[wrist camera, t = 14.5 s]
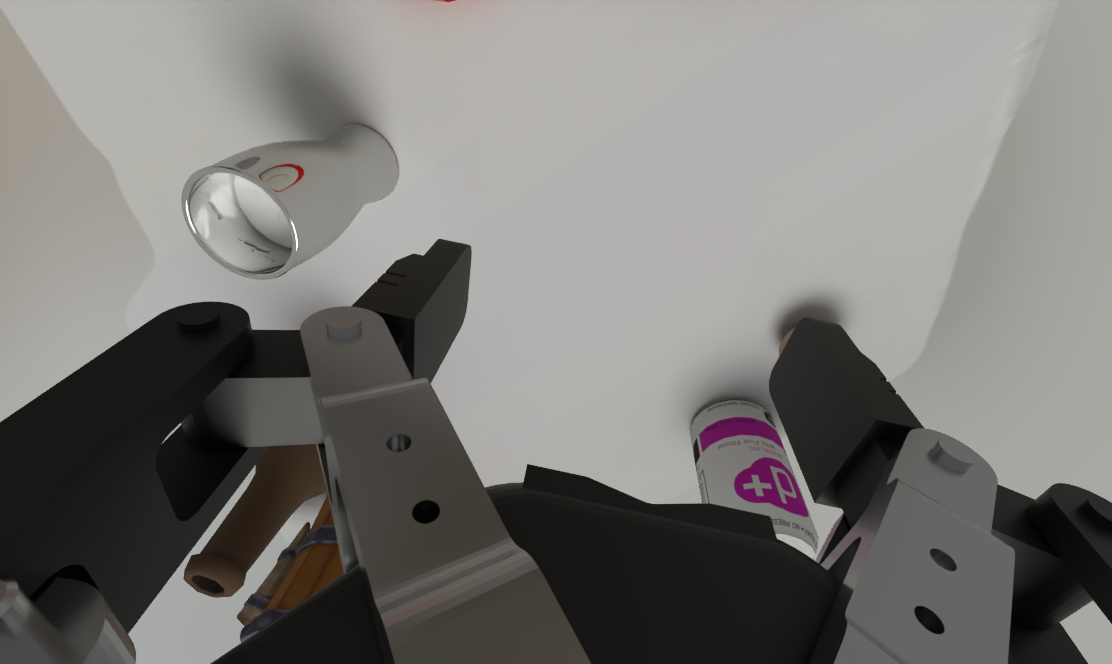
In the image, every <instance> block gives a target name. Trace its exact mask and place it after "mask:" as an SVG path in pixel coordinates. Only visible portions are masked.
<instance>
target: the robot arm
mask: <svg viewBox="0 0 1112 664" xmlns="http://www.w3.org/2000/svg"><path fill="white" fill-rule="evenodd" d="M470 267H471V246H470V245H467V244H462V243H457V242H453V241H448V240H443V239H438V240H437V241H436V242H435V243H434V245H433V246H432V247H431V248H430V249H429V250H428V251H427V253H426V254H425V255H424V256H422V255H417V254H412V255H409V256H407V257H404V258H402V259H399V260H397V261H395V262H394V264H393V265H392V266H391V267H390V268H389V269H388V270H387V271H386V274H385V273H384V274H383V275H382V276H381V277H380V278H379V279H378V281H377V282H375V283H374V284H373V285H372V286H371V287H370V288H369V289H368V290H367V291H366V292H365V293H364V294H363V295H362V296H361V297H360V298H359V299H358V300H357V301H356V302H355V303H354V304H353V305H352V306H351V307H335V308H329V309H325V310H322V311H319V312H317V313H315V314H313V315H311V316H310V317H308V318H307V319H306V320H305V321H304V322H303V323H302V325H301V328H300V330H252V328H251V323H250V318H249V315H248V313H247V312H246V311H245V310H244V309H242V308H241V307H239V306H236V305H233V304H229V303H223V302H198V303H191V304H186V305H182V306H178V307H175V308H172V309H170V310H167V311H165V312H163V313H161V314H160V315H158V316H156V317H155V318H153V319H152V320H150V321H149V322H147V323H146V324H144V325H143V326H141V327H140V328H139V329H137V330H136V331H134V332H133V333H131V334H130V335H128V336H127V337H125V338H124V339H122V340H121V341H119V342H118V343H116V344H115V345H114V346H112V347H111V348H109V349H108V350H106V351H105V352H103V353H102V354H100V355H99V356H97V357H96V358H94V359H93V360H91V361H90V362H88V363H87V364H85V365H84V366H83V367H81V368H80V369H78V370H77V371H75V372H74V373H72V374H71V375H69V376H68V377H66V378H65V379H63V380H62V381H61V382H59V383H57V384H56V385H55V386H53V387H52V388H50V389H49V390H47V391H46V392H44V393H43V394H41V395H40V396H38V397H37V398H36V399H34V400H33V401H31V402H29V403H28V404H27V405H25V406H24V407H22V408H21V409H19V410H18V411H16V412H15V413H13V414H12V415H10V416H9V417H8V418H6V419H4V420H3V421H1V422H0V664H136V651H135V647H134V644H133V642H132V640H131V639H130V637H129V635H128V633H129V632H130V630H131V629H132V628H133V627H134V625H135V624H136V623H137V621H138V620H139V619H140V617H141V616H142V615H143V613H144V612H145V610H146V609H147V608H148V606H149V605H150V604H151V603H152V601H153V600H154V599H155V597H156V596H157V595H158V593H159V592H160V591H161V589H162V588H163V587H164V585H165V584H166V583H167V581H168V580H169V579H170V577H171V576H172V575H173V573H174V572H175V571H176V569H177V568H178V567H179V566H180V564H181V563H182V561H183V560H184V559H185V557H186V556H187V555H188V553H189V552H190V551H191V550H192V548H193V547H194V546H195V544H196V543H197V542H198V540H199V539H200V538H201V536H202V535H203V533H204V532H205V531H206V529H207V528H208V527H209V526H210V524H211V523H212V521H213V520H214V519H215V518H216V516H217V515H218V514H219V512H220V511H221V510H222V508H223V507H224V506H225V504H226V503H227V502H228V500H229V499H230V498H231V496H232V495H233V494H234V492H235V491H236V490H237V489H238V487H239V486H240V485H241V483H242V482H243V481H244V479H245V478H246V477H247V475H248V474H249V473H250V471H251V470H252V469H253V467H254V466H255V465H256V463H257V462H258V461H259V459H260V458H261V457H262V455H263V454H264V453H265V451H266V450H267V449H268V447H269V446H284V445H305V444H316V446H317V450H318V455H319V459H320V464H321V468H322V472H323V477H324V481H325V485H326V490H327V494H328V498H329V503H330V507H331V511H332V516H333V520H334V525H335V530H336V536H337V542H338V547H339V553H340V558H341V563H342V568H343V572H344V574H343V575H342V576H340V577H339V578H338V579H336V580H335V581H333V582H332V583H330V584H329V585H327V586H326V587H324V588H323V589H321V590H320V591H318V592H317V593H315V594H314V595H312V596H311V597H309V598H308V599H306V600H305V601H303V602H302V603H300V604H299V605H297V606H296V607H294V608H293V609H291V610H290V611H288V612H287V613H285V614H284V615H282V616H281V617H279V618H278V619H276V620H275V621H273V622H272V623H271V624H269V625H268V626H266V627H265V628H263V629H262V630H260V631H259V632H257V633H256V634H254V635H253V636H251V637H250V638H248V639H247V640H245V641H244V642H242V643H241V644H239V645H238V646H236V647H235V648H233V649H232V650H231V651H229V652H227V653H226V654H224V655H223V656H221V657H220V658H219V659H217V660H215V661H214V662H212V663H211V664H1088V663H1087V661H1086V660H1085V659H1084V657H1083V656H1082V654H1081V653H1080V651H1079V650H1078V648H1077V647H1076V646H1075V644H1074V643H1073V641H1072V640H1071V638H1070V637H1069V635H1068V634H1067V632H1066V631H1065V630H1064V628H1063V627H1062V625H1061V624H1060V621H1062V620H1064V619H1065V618H1067V617H1068V616H1070V615H1071V614H1073V613H1074V612H1076V611H1077V610H1079V609H1080V608H1082V607H1083V606H1085V605H1087V604H1088V603H1090V602H1091V601H1093V600H1094V602H1095V603H1096V604H1097V606H1098V607H1099V608H1100V609H1101V611H1102V612H1103V613H1104V614H1105V616H1106V617H1107V618H1108V620H1109V621H1110V622H1111V624H1112V503H1111V502H1109V501H1107V500H1106V499H1104V498H1102V497H1100V496H1098V495H1096V494H1094V493H1092V492H1090V491H1087V490H1085V489H1082V488H1080V487H1076V486H1073V485H1069V484H1062V483H1058V484H1054V485H1052V486H1051V487H1050V488H1049V489H1048V490H1046V491H1045V492H1044V493H1043V494H1042V495H1041V496H1039V497H1038V498H1037V499H1036V500H1035V499H1032V498H1029V497H1027V496H1025V495H1022V494H1020V493H1017V492H1014V491H1013V490H1010V489H1008V488H1005V487H1003V486H1000V485H998V484H997V483H998V482H997V476H996V474H995V472H994V471H993V469H992V468H991V467H990V465H989V464H988V463H987V462H986V461H985V460H984V459H983V458H982V457H981V456H980V455H978V454H977V453H976V452H974V451H973V450H972V449H971V448H969V447H968V446H966V445H964V444H963V443H961V442H959V441H958V440H956V439H954V438H952V437H950V436H948V435H945V434H943V433H940V432H937V431H934V430H930V429H924V427H923V426H922V425H921V423H920V422H919V421H918V419H917V418H916V417H915V416H914V414H913V413H912V412H911V410H910V409H909V408H908V406H907V405H906V404H905V402H904V401H903V400H902V399H901V397H900V396H899V395H898V394H896V391H895V389H894V388H893V387H892V385H891V384H890V383H889V382H887V381H886V377H885V376H884V375H883V373H882V372H881V371H880V369H879V368H878V367H877V366H876V364H875V363H874V362H872V361H871V360H870V359H869V358H867V357H866V356H865V355H864V354H862V353H861V352H860V351H859V350H858V348H857V347H856V346H855V344H854V343H853V341H852V340H851V339H850V337H849V336H848V335H847V333H846V332H845V331H844V329H843V328H842V327H841V326H840V325H838V324H834V323H829V322H825V321H820V320H815V319H811V318H804V319H802V320H801V321H800V322H799V323H798V324H797V325H796V327H795V329H794V331H793V332H792V334H791V336H790V338H789V340H788V342H787V344H786V345H785V347H784V349H783V351H782V353H781V355H780V357H779V358H778V360H777V362H776V364H775V366H774V368H773V370H772V372H771V376H770V380H769V391H770V395H771V397H772V400H773V402H774V405H775V407H776V410H777V412H778V415H779V417H780V420H781V422H782V424H783V427H784V429H785V432H786V434H787V437H788V439H789V442H790V444H791V446H792V449H793V451H794V454H795V456H796V459H797V461H798V463H799V466H800V468H801V471H802V473H803V476H804V478H805V481H806V483H807V486H808V488H809V491H810V493H811V495H812V498H813V500H814V503H818V504H823V505H828V506H832V507H837V508H841V509H842V510H843V512H844V513H843V514H842V515H841V517H840V518H839V519H838V520H837V521H836V523H835V524H834V526H833V528H832V529H831V532H830V534H829V535H828V537H827V539H826V541H825V543H824V545H823V547H822V549H821V551H820V553H819V554H818V557H817V558H816V560H813V559H812V558H810V557H809V556H807V555H806V554H804V553H803V552H801V551H800V550H798V549H796V548H795V547H793V546H791V545H789V544H787V543H785V542H783V541H781V540H779V539H777V537H776V534H775V530H774V527H773V524H772V521H771V517H770V516H767V515H762V514H757V513H753V512H748V511H743V510H739V509H734V508H729V507H725V506H720V505H715V504H711V503H707V504H650V503H646V502H643V501H641V500H639V499H636V498H634V497H632V496H629V495H627V494H625V493H623V492H620V491H618V490H616V489H613V488H611V487H609V486H607V485H604V484H602V483H600V482H597V481H595V480H593V479H591V478H588V477H585V476H580V475H575V474H571V473H566V472H561V471H557V470H552V469H548V468H543V467H538V466H534V465H529V464H527V469H526V474H525V478H524V483H507V484H499V485H494V486H490V487H486V488H485V487H484V486H483V484H482V482H481V480H480V478H479V476H478V474H477V472H476V470H475V468H474V466H473V464H472V462H471V461H470V459H469V457H468V455H467V453H466V451H465V449H464V447H463V445H462V443H461V441H460V439H459V437H458V436H457V434H456V432H455V430H454V428H453V426H452V424H451V422H450V420H449V418H448V416H447V414H446V412H445V411H444V409H443V407H442V405H441V403H440V401H439V399H438V397H437V395H436V393H435V391H434V389H433V388H432V386H431V382H432V380H433V378H434V376H435V374H436V373H437V371H438V369H439V367H440V365H441V363H442V361H443V360H444V358H445V356H446V354H447V352H448V350H449V349H450V347H451V345H452V343H453V341H454V339H455V338H456V336H457V334H458V332H459V330H460V328H461V326H462V324H463V321H464V318H465V314H466V309H467V302H468V290H469V279H470ZM180 423H181V426H180V427H179V428H178V429H177V430H176V431H175V432H174V433H173V434H172V435H171V436H170V437H169V438H168V439H167V440H166V441H165V442H164V443H163V444H162V442H163V441H164V439H165V438H166V437H167V436H168V434H169V433H170V432H171V431H172V430H174V429H175V428H176V427H177V426H178V424H180ZM161 444H162V445H161Z"/></svg>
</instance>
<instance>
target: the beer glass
mask: <svg viewBox="0 0 1112 664" xmlns="http://www.w3.org/2000/svg"><path fill="white" fill-rule="evenodd" d="M398 173H399V171H398V163H397V159H396V156H395V154H394V152H393V150H392V148H391V147H390V145H389V144H388V142H387V141H386V140H385V139H384V138H383V137H382V136H381V135H380V134H378V133H377V132H376V131H374V130H372V129H370V128H368V127H366V126H362V125H355V124H351V125H344V126H341V127H339V128H337V129H336V130H334V131H333V132H332V133H331V134H330V135H328V136H327V137H326V138H325V139H323V140H300V141H283V142H274V143H269V144H265V145H261V146H257V147H253V148H250V149H248V150H245V151H242V152H240V153H237V154H235V155H232V156H230V157H228V158H226V159H224V160H221V161H219V162H217V163H215V164H213V165H211V166H209V167H206V168H203V169H200V170H198V171H197V172H195V173H194V174H193V175H192V176H191V177H190V178H189V179H188V180H187V182H186V184H185V186H184V189H183V193H182V209H183V214H184V218H185V221H186V223H187V226H188V228H189V230H190V232H191V233H192V235H193V237H194V238H195V240H196V241H197V242H198V244H199V245H200V246H201V247H202V249H203V250H204V251H205V252H206V253H207V254H208V255H209V256H210V257H211V258H213V259H214V260H215V261H216V262H218V263H219V264H220V265H222V266H223V267H225V268H227V269H228V270H230V271H232V272H234V273H236V274H239V275H241V276H244V277H248V278H252V279H260V280H266V279H273V278H277V277H279V276H281V275H283V274H285V273H286V272H288V271H289V270H291V269H292V268H294V267H296V266H298V265H300V264H302V263H303V262H305V261H307V260H309V259H311V258H312V257H314V256H315V255H317V254H318V253H320V252H321V251H323V250H324V249H326V248H327V247H328V246H329V245H331V244H332V243H333V242H334V241H335V240H337V239H338V238H339V237H340V236H341V234H342V233H343V232H344V231H345V230H346V229H347V228H348V226H349V225H350V224H351V222H352V221H353V220H354V218H355V217H356V216H357V214H358V213H359V211H360V210H361V209H362V208H363V206H364V205H366V204H368V203H372V202H376V201H379V200H382V199H384V198H385V197H387V196H388V195H389V194H390V193H391V192H392V191H393V190H394V188H395V186H396V184H397V180H398Z"/></svg>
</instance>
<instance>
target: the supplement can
mask: <svg viewBox="0 0 1112 664" xmlns="http://www.w3.org/2000/svg"><path fill="white" fill-rule="evenodd" d="M690 431H691V441H692V447H693V453H694V459H695V465H696V471H697V477H698V482H699V488H700V494H701V500H702V504H707V503H711V504H715V505H720V506H725V507H729V508H734V509H739V510H743V511H748V512H753V513H757V514H762V515H767V516H770V517H771V521H772V524H773V527H774V530H775V534H776V537H777V539H779V540H781V541H783V542H785V543H787V544H789V545H791V546H793V547H795V548H796V549H798V550H800V551H801V552H803V553H804V554H806V555H807V556H809V557H810V558H812V559H813V560H816V551H817V546H818V535H817V532H816V529H815V527H814V524H813V522H812V519H811V517H810V514H809V511H808V509H807V506H806V504H805V501H804V499H803V496H802V493H801V491H800V488H799V485H798V483H797V480H796V478H795V475H794V473H793V470H792V467H791V465H790V462H789V460H788V458H787V455H786V452H785V449H784V447H783V444H782V442H781V439H780V437H779V434H778V431H777V429H776V426H775V424H774V422H773V420H772V418H771V416H770V414H769V413H768V412H767V411H766V410H765V409H763V408H762V407H761V406H759V405H756V404H753V403H751V402H748V401H736V400H728V401H724V402H719V403H716V404H714V405H712V406H710V407H708V408H706V409H704V410H703V411H702V412H701V413H700V414H699V415H698V416H697V417H696V418H695V419H694V421H693V424H692V426H691V428H690Z"/></svg>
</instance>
